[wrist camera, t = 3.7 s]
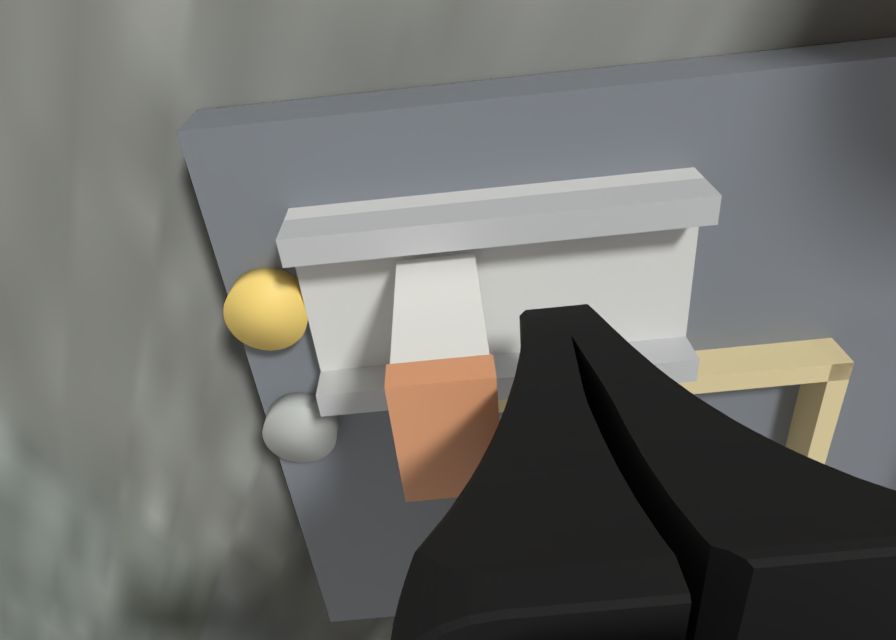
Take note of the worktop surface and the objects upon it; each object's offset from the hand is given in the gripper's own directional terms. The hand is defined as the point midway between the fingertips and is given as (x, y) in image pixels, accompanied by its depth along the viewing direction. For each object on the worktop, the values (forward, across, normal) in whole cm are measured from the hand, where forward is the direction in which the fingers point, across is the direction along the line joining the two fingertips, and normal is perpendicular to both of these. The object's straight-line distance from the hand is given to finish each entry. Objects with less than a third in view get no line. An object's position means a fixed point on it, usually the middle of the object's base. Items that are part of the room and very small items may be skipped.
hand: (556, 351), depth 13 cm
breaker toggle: (+2, +2, 0) cm, 3 cm away
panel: (+4, -2, +4) cm, 6 cm away
